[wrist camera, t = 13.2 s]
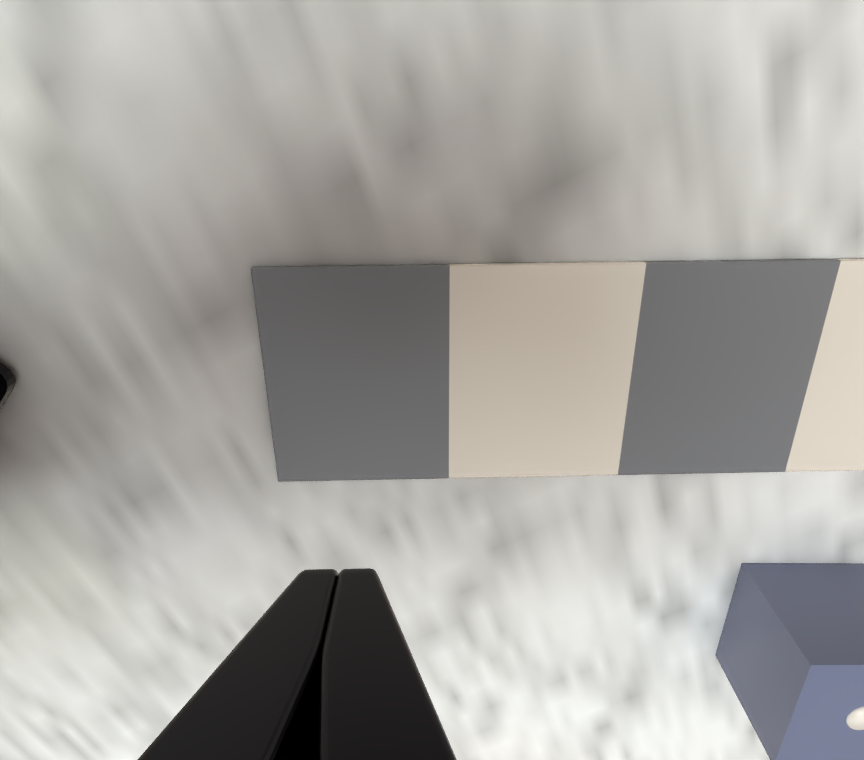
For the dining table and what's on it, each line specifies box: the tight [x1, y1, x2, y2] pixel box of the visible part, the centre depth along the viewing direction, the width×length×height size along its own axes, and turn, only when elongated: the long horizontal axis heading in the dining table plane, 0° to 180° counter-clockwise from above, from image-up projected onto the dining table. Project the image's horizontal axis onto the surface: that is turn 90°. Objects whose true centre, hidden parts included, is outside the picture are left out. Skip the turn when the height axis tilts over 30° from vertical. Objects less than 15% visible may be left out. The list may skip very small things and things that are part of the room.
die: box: [716, 563, 864, 760], centre depth 22 cm, size 4×5×5 cm
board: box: [251, 259, 864, 482], centre depth 20 cm, size 28×7×1 cm, turn 90°
